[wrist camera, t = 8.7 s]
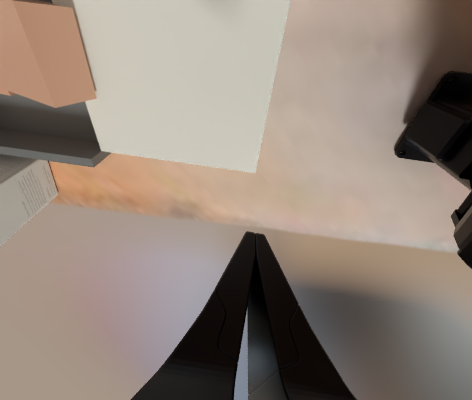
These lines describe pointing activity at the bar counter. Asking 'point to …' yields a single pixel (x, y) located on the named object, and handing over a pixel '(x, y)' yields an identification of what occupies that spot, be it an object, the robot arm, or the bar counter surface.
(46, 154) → the tray
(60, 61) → the tile front
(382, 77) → the bar counter surface
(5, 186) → the skincare box
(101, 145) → the plate
